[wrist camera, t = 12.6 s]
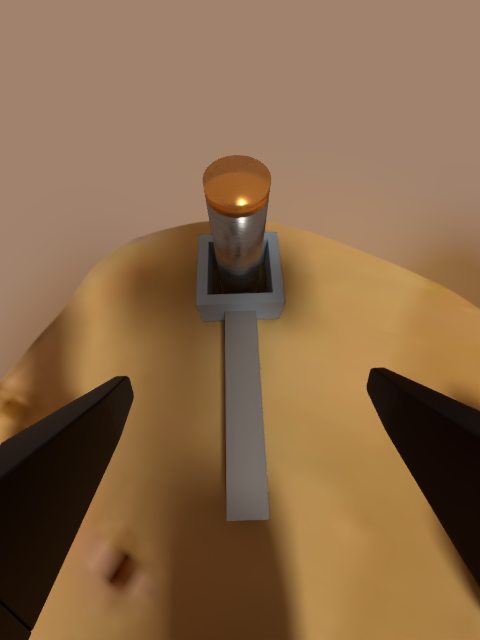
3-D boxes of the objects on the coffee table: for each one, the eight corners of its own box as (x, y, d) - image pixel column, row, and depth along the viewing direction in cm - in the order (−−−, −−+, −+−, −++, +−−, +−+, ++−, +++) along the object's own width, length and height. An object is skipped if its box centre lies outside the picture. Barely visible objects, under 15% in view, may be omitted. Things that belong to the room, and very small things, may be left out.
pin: (244, 310, 24) (247, 214, 12) (214, 292, 25) (188, 186, 13) (264, 282, 26) (283, 170, 14) (234, 266, 26) (227, 147, 14)
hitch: (297, 505, 18) (311, 529, 14) (197, 508, 18) (185, 534, 14) (272, 256, 27) (277, 231, 23) (204, 258, 27) (198, 234, 23)
